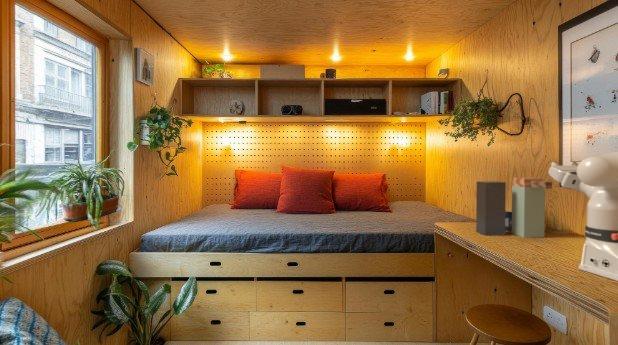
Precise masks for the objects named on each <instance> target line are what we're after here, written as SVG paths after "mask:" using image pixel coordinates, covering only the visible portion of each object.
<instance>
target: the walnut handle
mask: <svg viewBox="0 0 618 345" xmlns="http://www.w3.org/2000/svg"><path fill="white" fill-rule="evenodd" d="M513 186H520V187H535V188H543V189H545V190H552V189H553V181H546V180H545V181H544V178H541V177H513Z"/></svg>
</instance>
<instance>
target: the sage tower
mask: <svg viewBox="0 0 618 345" xmlns="http://www.w3.org/2000/svg"><path fill="white" fill-rule="evenodd" d="M511 212H512V232H511V234H512V235H516V236H518V237H521V238H525V239H526V238H527V239H528V238H545V226H546V224H545V223H546V221H545V220H546V216H545V215H546V214H545V212H546V189H543V188H535V187H520V186H514V185H512V186H511Z"/></svg>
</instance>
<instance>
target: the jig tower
mask: <svg viewBox="0 0 618 345" xmlns="http://www.w3.org/2000/svg"><path fill="white" fill-rule="evenodd" d="M506 185H507V184H506V181H497V180H496V181H495V180H492V181H491V180H490V181H489V180H487V181H486V180H485V181H481V180H480V181H476V205H475V206H476V208H475V209H476V211H475V212H476V214H475V215H476V217H475V218H476V220H475V221H476V222H475V223H476V224H475V225H476V226H475V228H476V229H475V232H476V233H477V234H481V235H483V236H485V237H486V236H506V231H505V211H506V200H507V199H506V197H507V196H506V195H507V194H506V192H507V190H506V187H507V186H506Z"/></svg>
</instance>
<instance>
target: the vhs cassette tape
mask: <svg viewBox="0 0 618 345" xmlns="http://www.w3.org/2000/svg"><path fill="white" fill-rule="evenodd" d="M505 232H510V233H512V211H506V210H505Z"/></svg>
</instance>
